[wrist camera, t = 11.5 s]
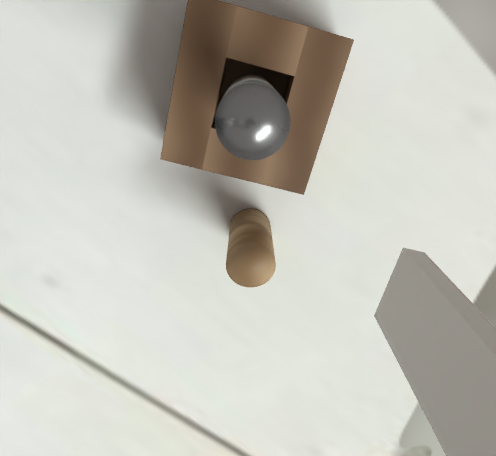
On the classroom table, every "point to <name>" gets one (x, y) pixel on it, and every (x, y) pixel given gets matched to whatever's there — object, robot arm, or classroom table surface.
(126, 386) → the classroom table surface
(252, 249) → the oak dowel
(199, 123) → the socket block
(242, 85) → the metal pin
